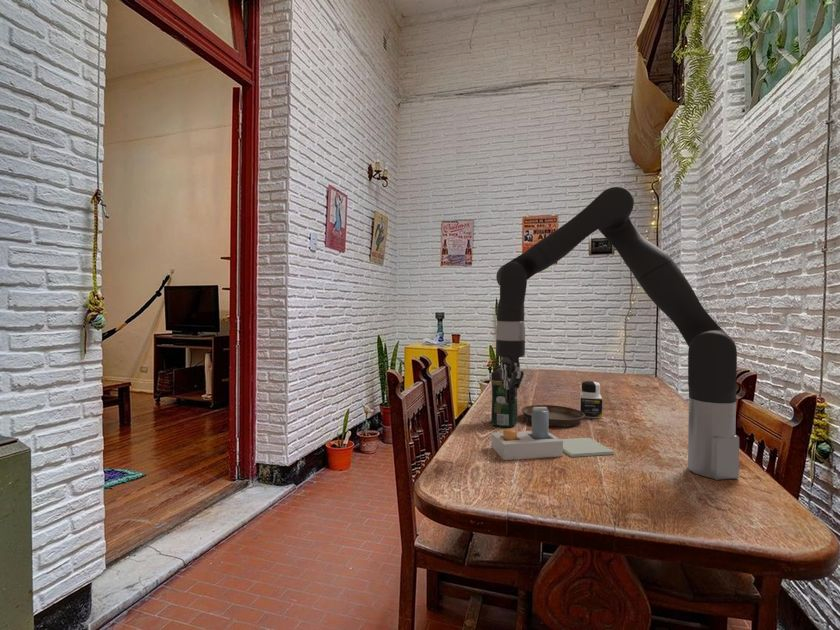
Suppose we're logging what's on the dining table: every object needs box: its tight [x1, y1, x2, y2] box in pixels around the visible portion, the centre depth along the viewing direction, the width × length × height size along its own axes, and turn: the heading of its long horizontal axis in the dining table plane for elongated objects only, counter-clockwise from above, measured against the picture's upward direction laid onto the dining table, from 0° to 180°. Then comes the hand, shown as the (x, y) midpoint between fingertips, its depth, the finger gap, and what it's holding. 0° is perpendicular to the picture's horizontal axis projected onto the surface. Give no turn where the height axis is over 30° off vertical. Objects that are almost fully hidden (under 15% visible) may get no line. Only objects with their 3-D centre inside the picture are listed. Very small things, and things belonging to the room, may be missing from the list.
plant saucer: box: [520, 404, 585, 427], centre depth 150 cm, size 21×21×3 cm
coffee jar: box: [490, 369, 519, 428], centre depth 145 cm, size 10×8×19 cm
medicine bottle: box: [578, 380, 604, 419], centre depth 155 cm, size 7×7×12 cm
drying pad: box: [559, 437, 615, 458], centre depth 120 cm, size 12×12×1 cm
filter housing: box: [490, 430, 564, 461], centre depth 118 cm, size 16×10×4 cm, turn 100°
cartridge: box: [531, 407, 550, 440], centre depth 118 cm, size 4×4×12 cm
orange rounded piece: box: [502, 427, 518, 441], centre depth 117 cm, size 4×4×3 cm
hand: (509, 402), depth 117 cm, fingers closed
